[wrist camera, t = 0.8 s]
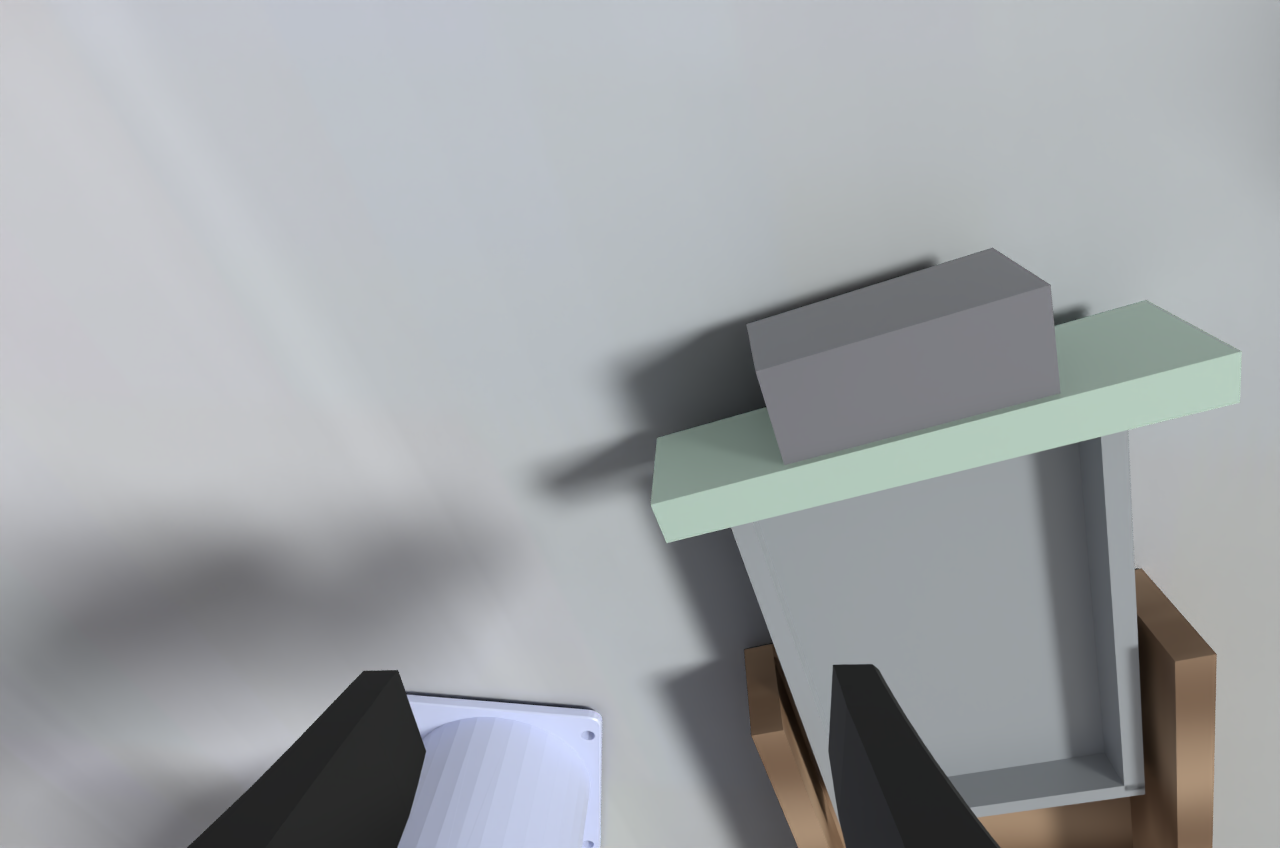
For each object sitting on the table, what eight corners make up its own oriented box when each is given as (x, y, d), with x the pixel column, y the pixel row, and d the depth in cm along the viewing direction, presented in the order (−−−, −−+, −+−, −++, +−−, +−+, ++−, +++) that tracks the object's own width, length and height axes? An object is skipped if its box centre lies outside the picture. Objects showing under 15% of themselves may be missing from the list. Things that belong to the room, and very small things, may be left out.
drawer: (1159, 738, 24) (1224, 834, 21) (798, 794, 26) (811, 885, 24) (1143, 199, 16) (1245, 232, 13) (626, 360, 18) (613, 416, 15)
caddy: (1153, 868, 28) (1209, 967, 25) (844, 904, 31) (861, 997, 28) (1141, 568, 21) (1216, 654, 18) (744, 649, 24) (751, 736, 21)
